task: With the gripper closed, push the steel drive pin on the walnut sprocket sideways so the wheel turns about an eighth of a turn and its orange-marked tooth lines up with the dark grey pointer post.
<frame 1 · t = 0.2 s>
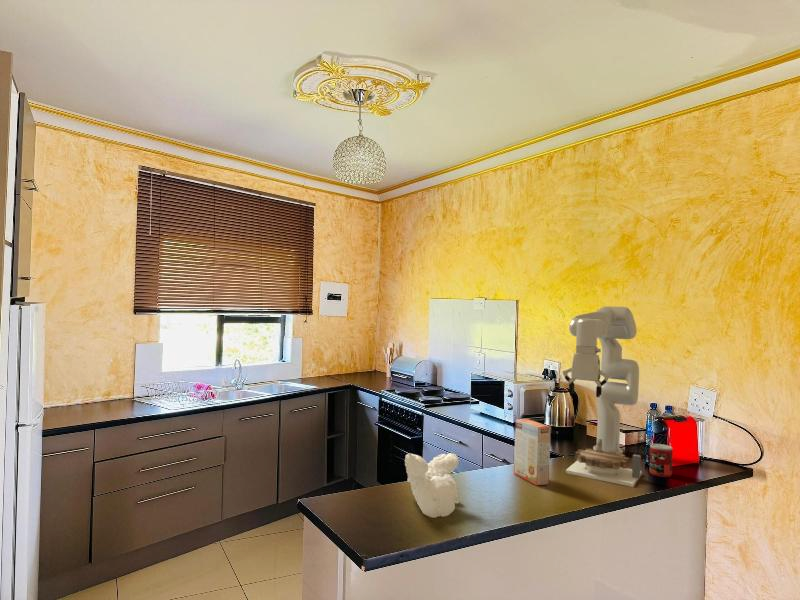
hand: (584, 395, 194), 30 cm above the worktop, tool pointing down, fingers open, 9 cm apart
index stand: (601, 473, 196), on the worktop
white lumpy piece: (431, 505, 156), on the worktop
canned food: (660, 474, 198), on the worktop
sprocket: (601, 452, 196), point 8 cm above the worktop, hinge at 0.0°
cracker box: (530, 479, 185), on the worktop
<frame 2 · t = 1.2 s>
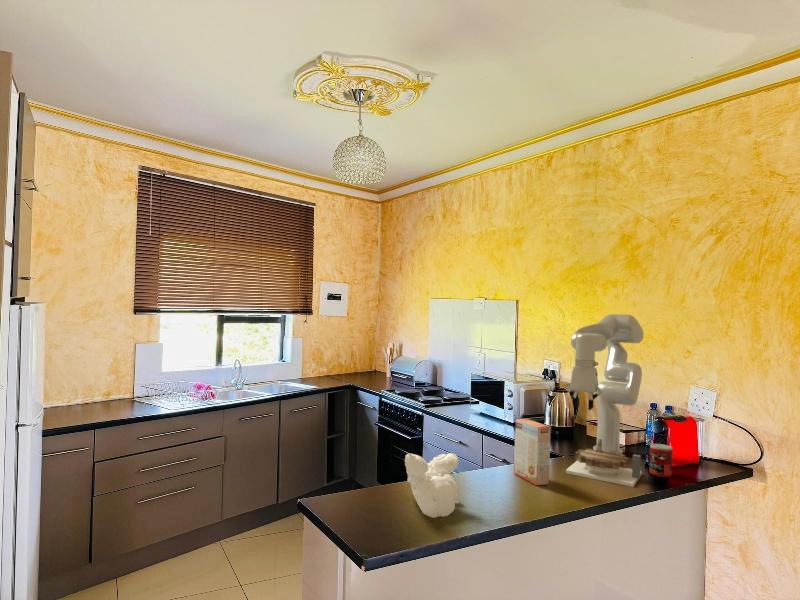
hand: (583, 408, 206), 23 cm above the worktop, tool pointing down, fingers open, 4 cm apart
nothing on the worktop moved.
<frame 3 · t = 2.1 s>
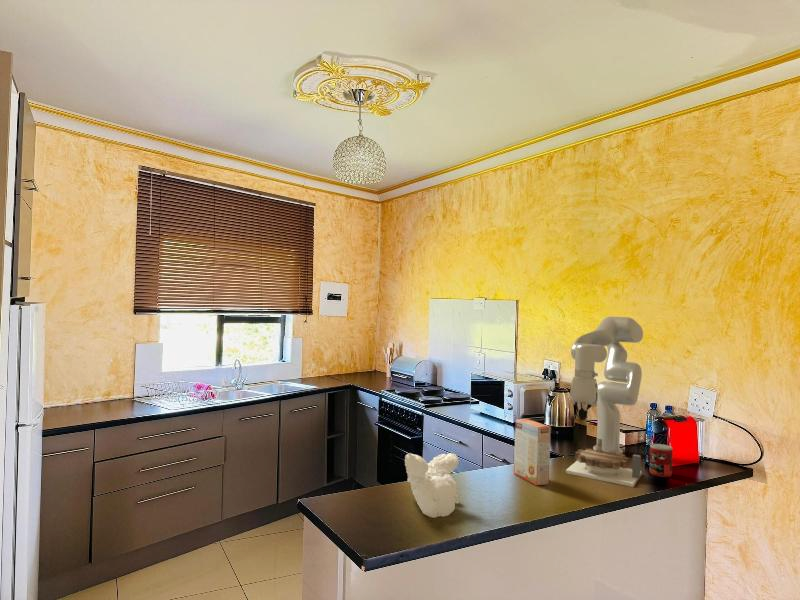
hand: (582, 419, 205), 19 cm above the worktop, tool pointing down, fingers closed
nothing on the worktop moved.
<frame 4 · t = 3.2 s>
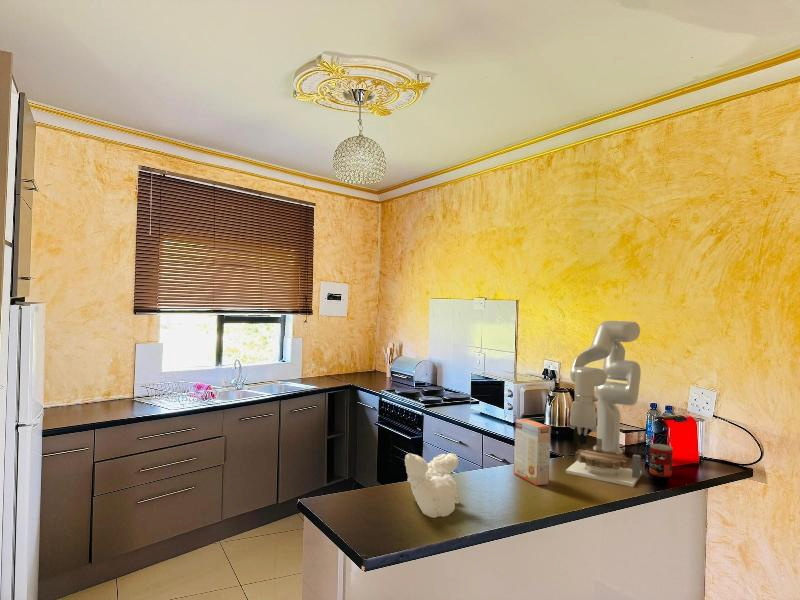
hand: (582, 444, 205), 9 cm above the worktop, tool pointing down, fingers closed
nothing on the worktop moved.
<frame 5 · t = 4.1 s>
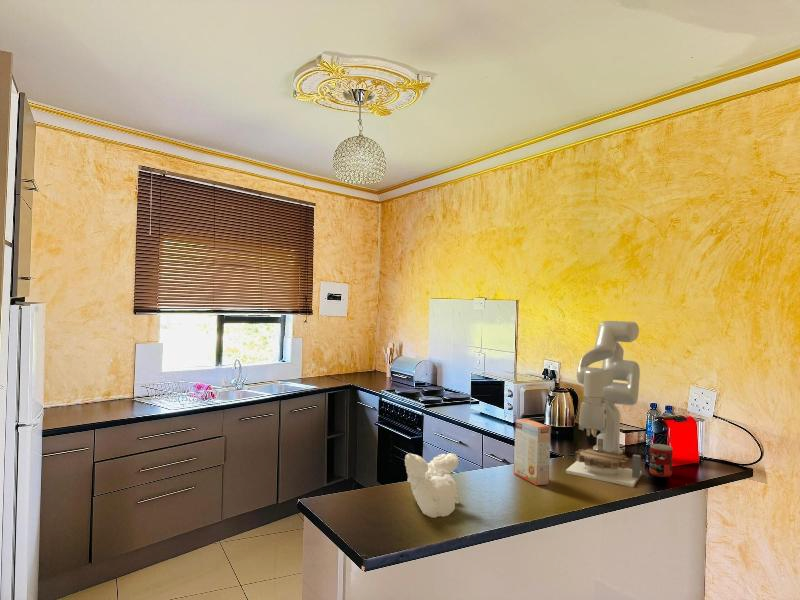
hand: (592, 445, 204), 9 cm above the worktop, tool pointing down, fingers closed
sprocket: (601, 452, 196), point 8 cm above the worktop, hinge at -4.5°, touching gripper
everything else where it was.
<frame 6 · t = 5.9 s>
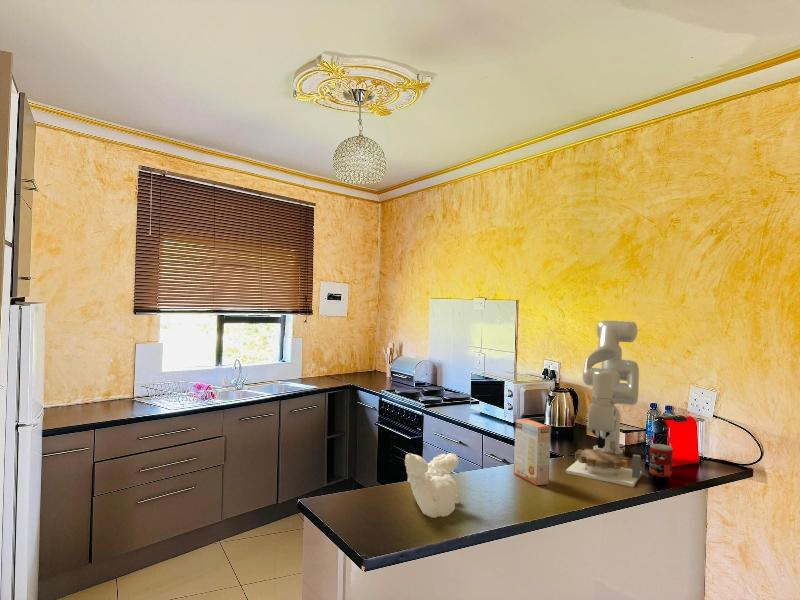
hand: (600, 447, 201), 9 cm above the worktop, tool pointing down, fingers closed
sprocket: (601, 452, 196), point 8 cm above the worktop, hinge at -56.7°
everything else where it was.
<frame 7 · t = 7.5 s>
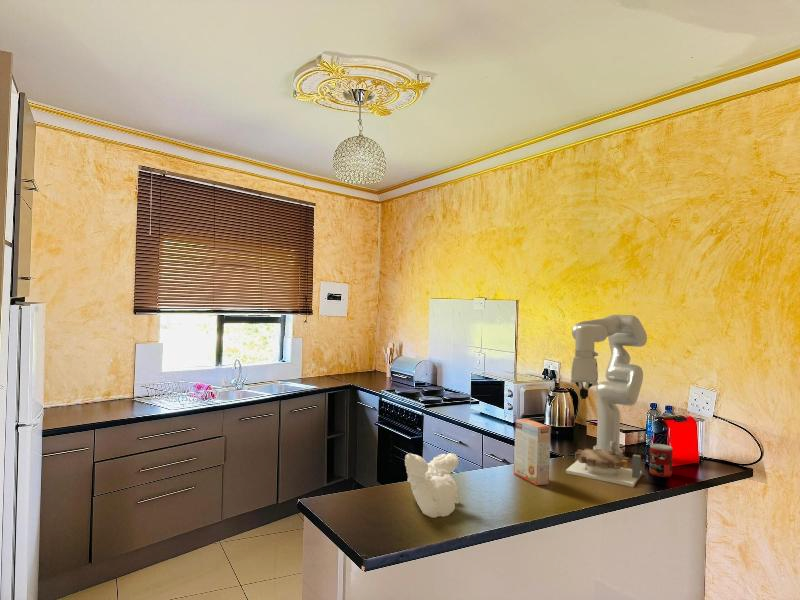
hand: (583, 398, 210), 27 cm above the worktop, tool pointing down, fingers closed
nothing on the worktop moved.
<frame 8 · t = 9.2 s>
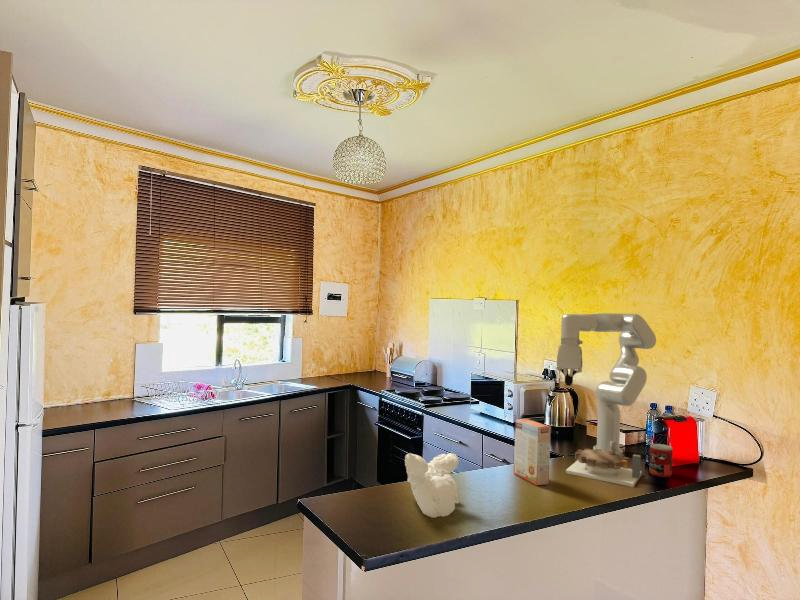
hand: (568, 385, 217), 31 cm above the worktop, tool pointing down, fingers closed
nothing on the worktop moved.
at the end: sprocket at -57° (first picture: +0°) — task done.
